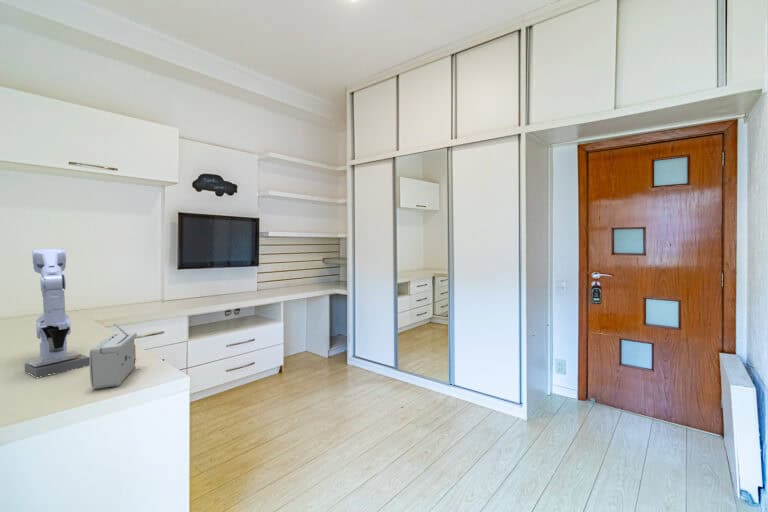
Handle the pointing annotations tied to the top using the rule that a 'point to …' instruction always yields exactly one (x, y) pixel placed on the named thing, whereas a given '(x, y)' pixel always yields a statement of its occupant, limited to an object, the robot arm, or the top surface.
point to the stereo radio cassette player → (112, 360)
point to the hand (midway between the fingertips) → (56, 346)
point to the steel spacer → (51, 346)
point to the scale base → (57, 366)
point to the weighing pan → (53, 358)
